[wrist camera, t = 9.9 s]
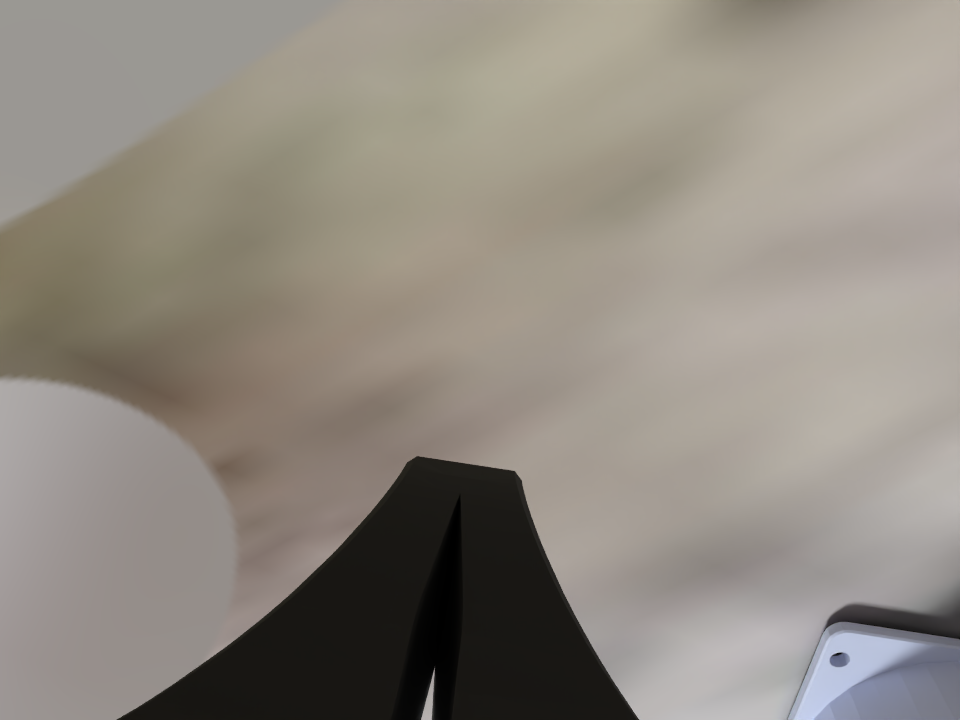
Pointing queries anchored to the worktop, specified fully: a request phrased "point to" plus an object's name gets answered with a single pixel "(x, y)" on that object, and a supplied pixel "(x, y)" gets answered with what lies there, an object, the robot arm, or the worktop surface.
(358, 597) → the robot arm
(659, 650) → the worktop surface
